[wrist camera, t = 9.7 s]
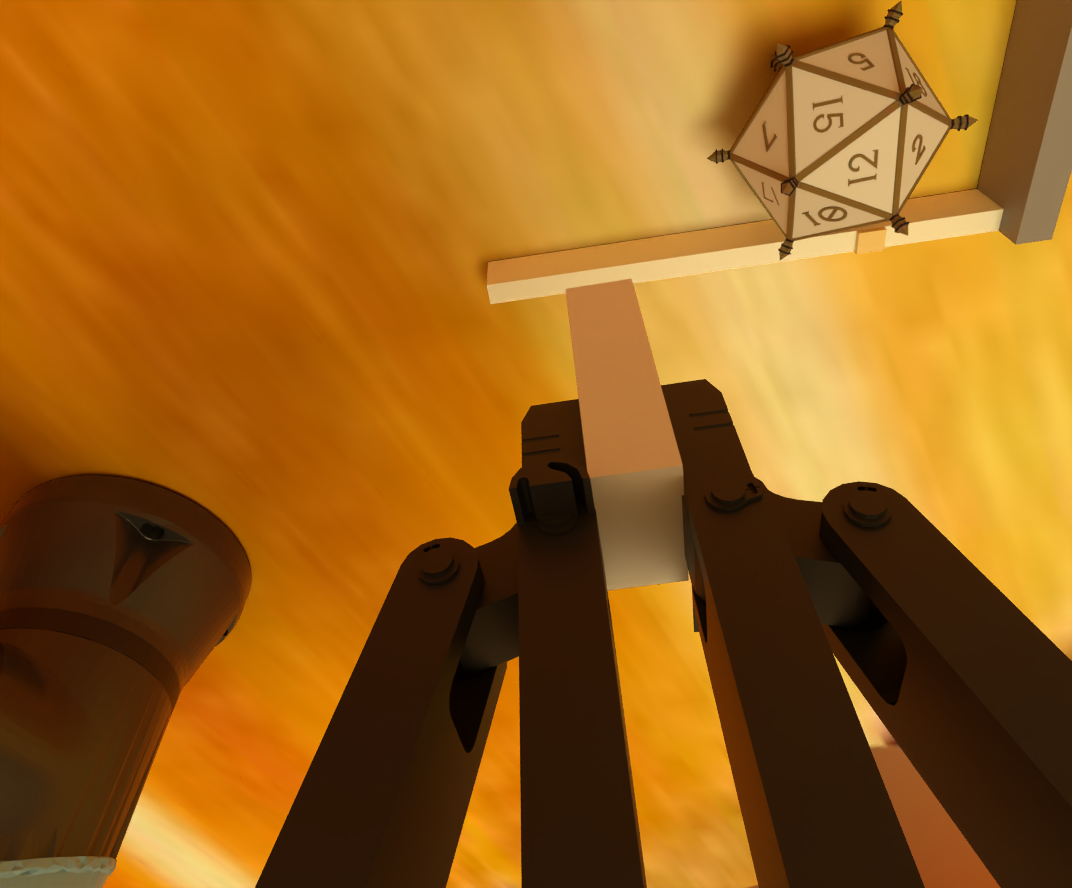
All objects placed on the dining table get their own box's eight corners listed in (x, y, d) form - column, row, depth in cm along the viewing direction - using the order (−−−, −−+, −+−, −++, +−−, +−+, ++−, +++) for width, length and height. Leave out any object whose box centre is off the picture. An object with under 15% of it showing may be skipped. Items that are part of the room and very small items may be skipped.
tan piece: (492, 280, 38) (489, 319, 35) (411, -112, 28) (398, -106, 25) (1010, 203, 36) (1057, 238, 33) (1120, -247, 26) (1203, -259, 23)
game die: (708, 93, 35) (946, 54, 33) (716, 277, 36) (951, 254, 33) (693, -1, 27) (1014, -65, 24) (704, 243, 27) (1020, 207, 25)
